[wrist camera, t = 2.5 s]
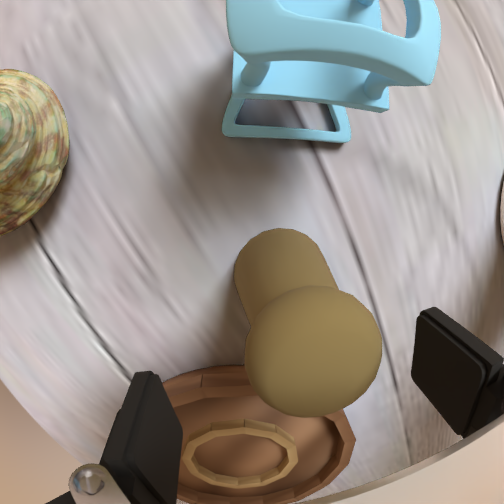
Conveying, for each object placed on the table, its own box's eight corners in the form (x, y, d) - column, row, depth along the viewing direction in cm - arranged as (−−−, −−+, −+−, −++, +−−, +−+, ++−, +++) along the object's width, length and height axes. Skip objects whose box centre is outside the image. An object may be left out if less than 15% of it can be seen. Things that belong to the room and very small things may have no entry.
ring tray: (385, 388, 23) (396, 405, 21) (292, 500, 28) (294, 515, 25) (151, 331, 20) (142, 350, 18) (125, 469, 25) (120, 485, 22)
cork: (245, 218, 19) (258, 280, 8) (336, 240, 19) (432, 313, 9) (225, 306, 20) (217, 432, 10) (310, 322, 21) (364, 439, 10)
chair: (342, 31, 16) (433, -68, 4) (346, 144, 18) (480, 120, 6) (227, 20, 15) (221, -113, 4) (222, 137, 17) (198, 74, 6)
